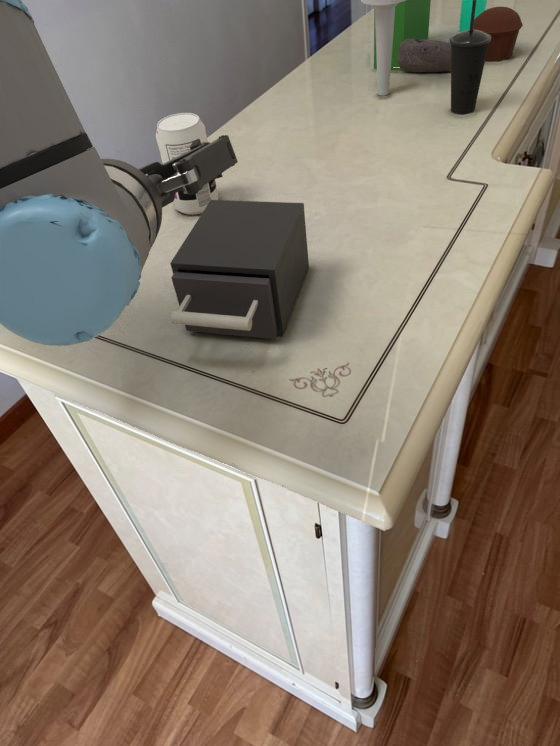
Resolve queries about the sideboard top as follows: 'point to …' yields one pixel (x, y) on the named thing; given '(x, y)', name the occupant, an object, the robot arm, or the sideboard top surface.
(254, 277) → the open drawer with handle
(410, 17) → the hardback book
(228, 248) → the drawer cabinet
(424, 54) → the perforated stone tool
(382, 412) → the sideboard top surface
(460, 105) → the drinking cup
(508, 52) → the muffin
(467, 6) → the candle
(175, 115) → the supplement can
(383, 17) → the novelty light stick
